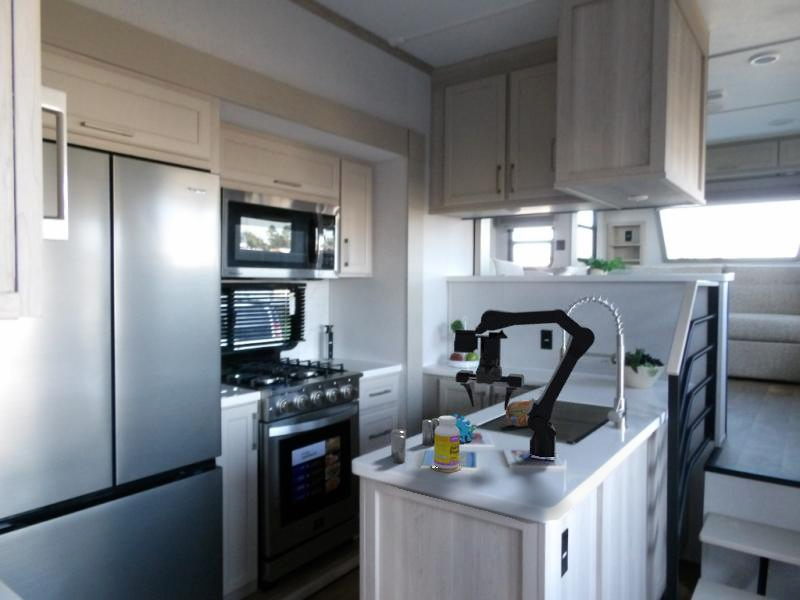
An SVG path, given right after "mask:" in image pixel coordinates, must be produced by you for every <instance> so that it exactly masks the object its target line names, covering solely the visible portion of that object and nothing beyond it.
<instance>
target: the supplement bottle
mask: <svg viewBox="0 0 800 600" xmlns="http://www.w3.org/2000/svg"><path fill="white" fill-rule="evenodd" d="M438 418H439V426H437V427H436V429H435V442H434V443H433V444H434V446H433V447H434V448H433V463H434V465H435V466H436V467H438V468H441V469H454V468H457V467H458V466H459V464H460V446H461V445H460V443H461V442H460V441H461V437H460V430H459V429H458V428H457V427H456V425H455V424H456V417H453V415H452V416H449V415H441V416H439V417H438Z"/></svg>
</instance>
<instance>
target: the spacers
mask: <svg viewBox="0 0 800 600" xmlns="http://www.w3.org/2000/svg"><path fill="white" fill-rule="evenodd" d="M421 422H422V423H421V424H422V428H421V429H422V430H421V432H422V433H421V435H422V436H421V437H422V439H421V444H422V445H423V446H432V445H433V444H434V442H435V429H436V427H437V426H439V417H434V418H432V419H423V420H422V421H421ZM390 432H391V438H390V439H391V444H390V445H391V447H390V457H392V458H393V463H395V464H404V463H405V461H406V447H407V446H406V444H407V443H406V439H407V437H406V435H407V433H406V432H407V431H406V430H405V429H401V428H397V429H391V431H390Z"/></svg>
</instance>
